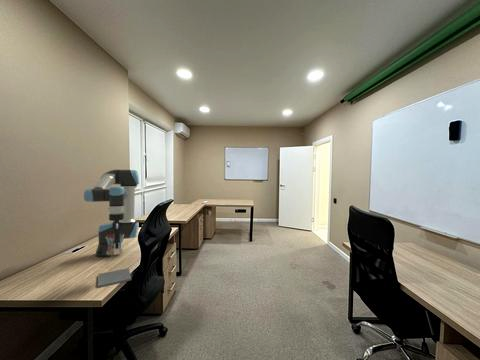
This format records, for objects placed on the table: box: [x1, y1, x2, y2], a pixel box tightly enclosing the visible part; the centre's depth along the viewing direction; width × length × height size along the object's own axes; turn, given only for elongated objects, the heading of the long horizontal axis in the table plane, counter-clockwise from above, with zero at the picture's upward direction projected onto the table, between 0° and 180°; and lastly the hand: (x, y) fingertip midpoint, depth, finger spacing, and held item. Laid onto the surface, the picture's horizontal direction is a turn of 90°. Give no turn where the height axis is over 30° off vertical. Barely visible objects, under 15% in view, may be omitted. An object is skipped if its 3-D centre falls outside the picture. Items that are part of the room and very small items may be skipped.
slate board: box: [97, 267, 132, 288], centre depth 123 cm, size 16×16×1 cm
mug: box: [105, 234, 125, 256], centre depth 124 cm, size 12×9×11 cm
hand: (116, 251), depth 124 cm, fingers closed on mug, 8 cm apart
